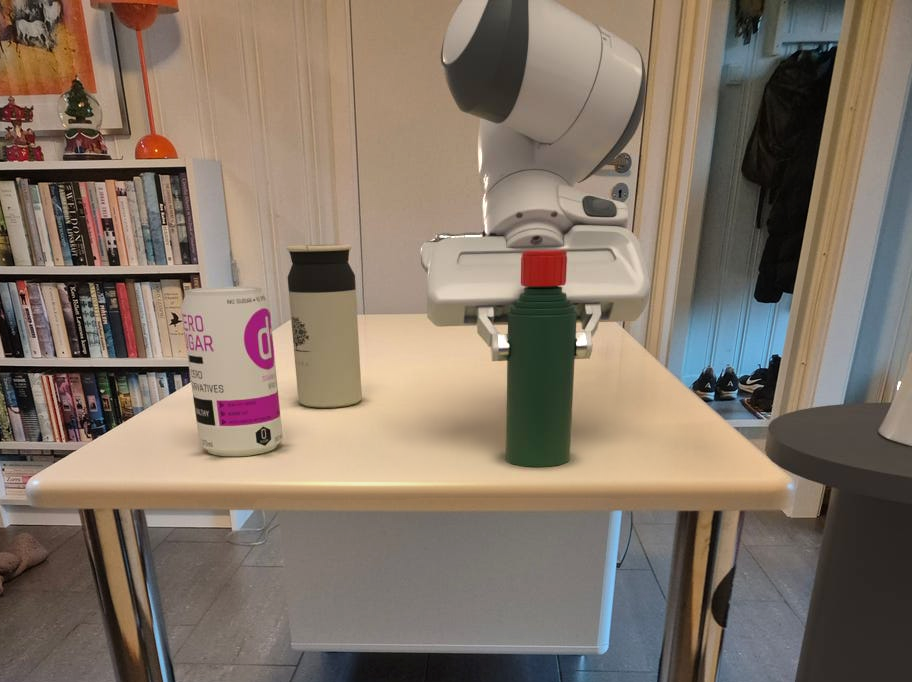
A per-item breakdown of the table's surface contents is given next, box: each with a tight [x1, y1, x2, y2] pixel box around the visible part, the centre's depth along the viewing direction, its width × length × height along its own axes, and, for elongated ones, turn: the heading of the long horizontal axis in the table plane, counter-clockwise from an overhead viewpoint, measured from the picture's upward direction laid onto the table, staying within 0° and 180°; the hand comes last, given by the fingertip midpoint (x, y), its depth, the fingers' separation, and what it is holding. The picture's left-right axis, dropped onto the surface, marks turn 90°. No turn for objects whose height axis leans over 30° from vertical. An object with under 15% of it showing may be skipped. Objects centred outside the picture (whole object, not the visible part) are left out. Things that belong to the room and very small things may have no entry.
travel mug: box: [286, 243, 363, 409], centre depth 104 cm, size 8×8×18 cm
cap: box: [521, 250, 567, 287], centre depth 73 cm, size 4×4×3 cm
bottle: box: [505, 286, 577, 468], centre depth 77 cm, size 6×6×18 cm
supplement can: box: [180, 285, 283, 457], centre depth 83 cm, size 8×8×15 cm
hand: (542, 356), depth 76 cm, fingers closed on bottle, 6 cm apart
